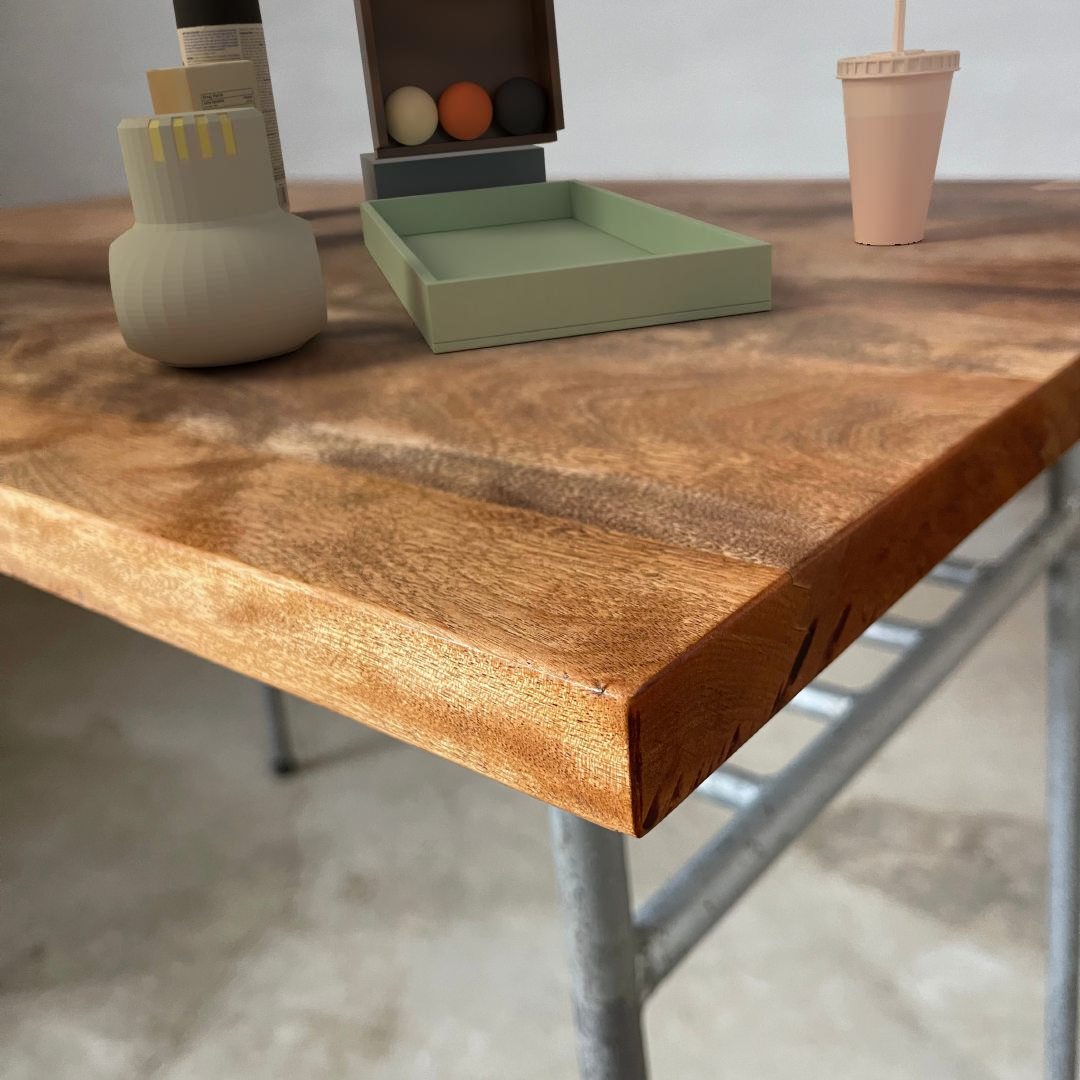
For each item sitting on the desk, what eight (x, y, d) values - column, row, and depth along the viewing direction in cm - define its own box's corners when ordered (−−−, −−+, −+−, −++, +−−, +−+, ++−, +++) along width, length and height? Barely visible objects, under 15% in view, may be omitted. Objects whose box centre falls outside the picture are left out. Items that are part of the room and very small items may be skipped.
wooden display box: (344, -66, 71) (355, -117, 60) (530, -77, 73) (573, -128, 63) (375, 160, 75) (391, 150, 64) (550, 143, 77) (594, 130, 67)
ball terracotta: (426, 84, 72) (433, 143, 73) (478, 77, 71) (484, 137, 72) (446, 85, 75) (453, 142, 76) (497, 79, 74) (502, 136, 75)
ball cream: (374, 147, 73) (376, 109, 74) (427, 163, 74) (427, 126, 76) (392, 105, 70) (393, 66, 71) (446, 123, 71) (446, 84, 73)
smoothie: (945, 228, 65) (964, -40, 60) (951, 247, 60) (972, -46, 54) (832, 232, 67) (840, -28, 61) (828, 251, 62) (836, -33, 56)
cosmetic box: (244, 239, 84) (213, 62, 79) (287, 240, 81) (258, 59, 77) (178, 255, 79) (141, 67, 74) (222, 256, 77) (187, 63, 72)
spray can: (270, 212, 99) (228, -41, 91) (307, 216, 94) (266, -51, 86) (199, 223, 95) (149, -40, 87) (233, 228, 90) (184, -50, 82)
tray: (364, 245, 77) (358, 201, 75) (577, 221, 79) (575, 179, 78) (433, 353, 47) (425, 284, 46) (771, 310, 50) (772, 243, 48)
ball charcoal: (495, 134, 73) (474, 98, 74) (530, 153, 75) (509, 119, 77) (531, 92, 71) (509, 56, 72) (566, 113, 74) (543, 78, 75)
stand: (368, 219, 89) (359, 153, 87) (516, 203, 91) (511, 139, 89) (382, 237, 79) (373, 164, 77) (549, 219, 81) (544, 147, 79)
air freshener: (339, 368, 46) (300, 107, 42) (129, 397, 44) (67, 128, 40) (317, 317, 55) (284, 102, 51) (145, 339, 54) (97, 118, 50)
